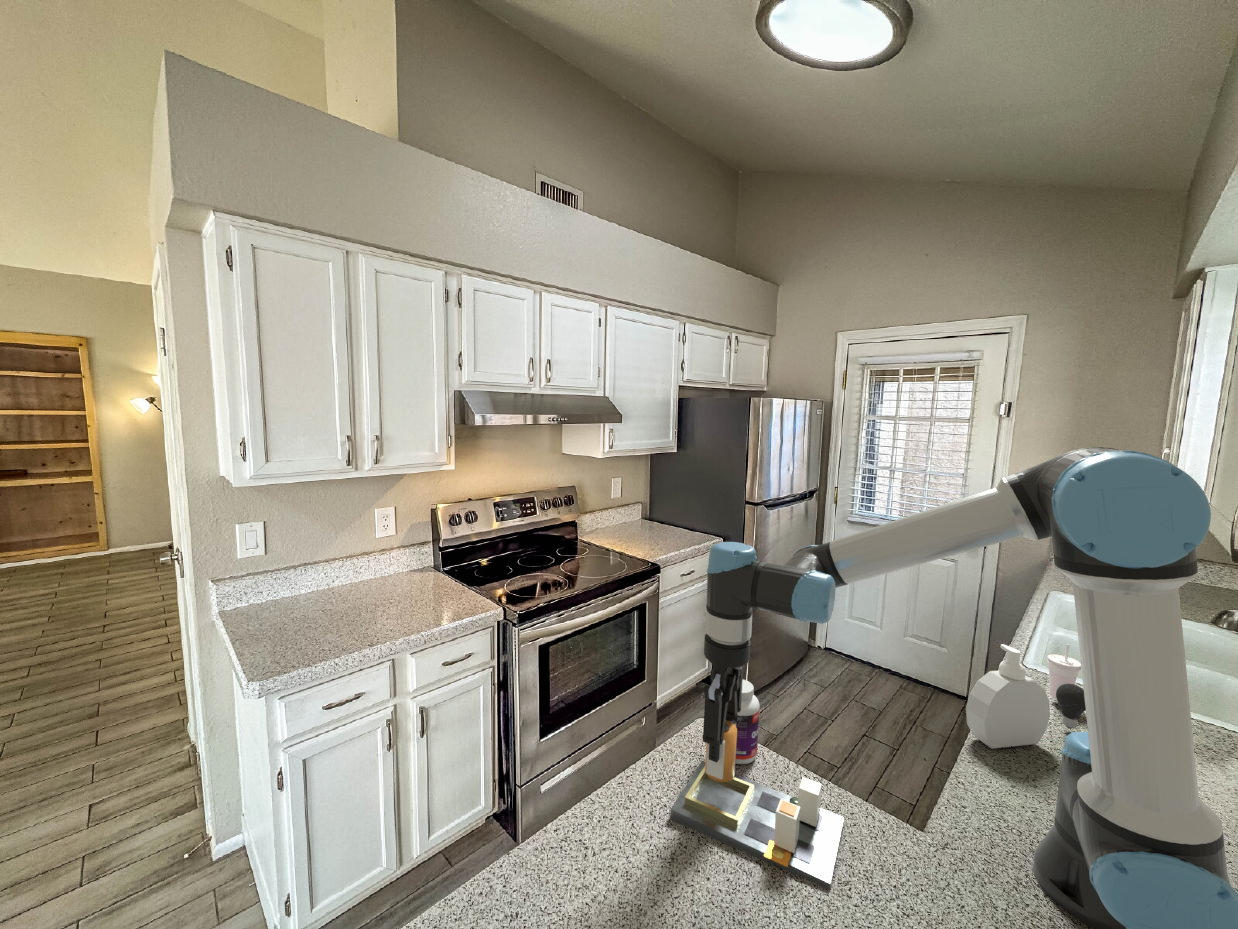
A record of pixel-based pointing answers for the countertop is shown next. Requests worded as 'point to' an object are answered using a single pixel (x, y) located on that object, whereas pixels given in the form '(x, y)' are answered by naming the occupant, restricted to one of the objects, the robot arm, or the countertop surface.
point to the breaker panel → (758, 824)
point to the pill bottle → (747, 726)
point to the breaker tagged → (787, 825)
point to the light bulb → (1071, 703)
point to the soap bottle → (1008, 706)
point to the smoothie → (1062, 671)
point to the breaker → (809, 801)
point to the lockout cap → (727, 753)
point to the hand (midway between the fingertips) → (720, 765)
